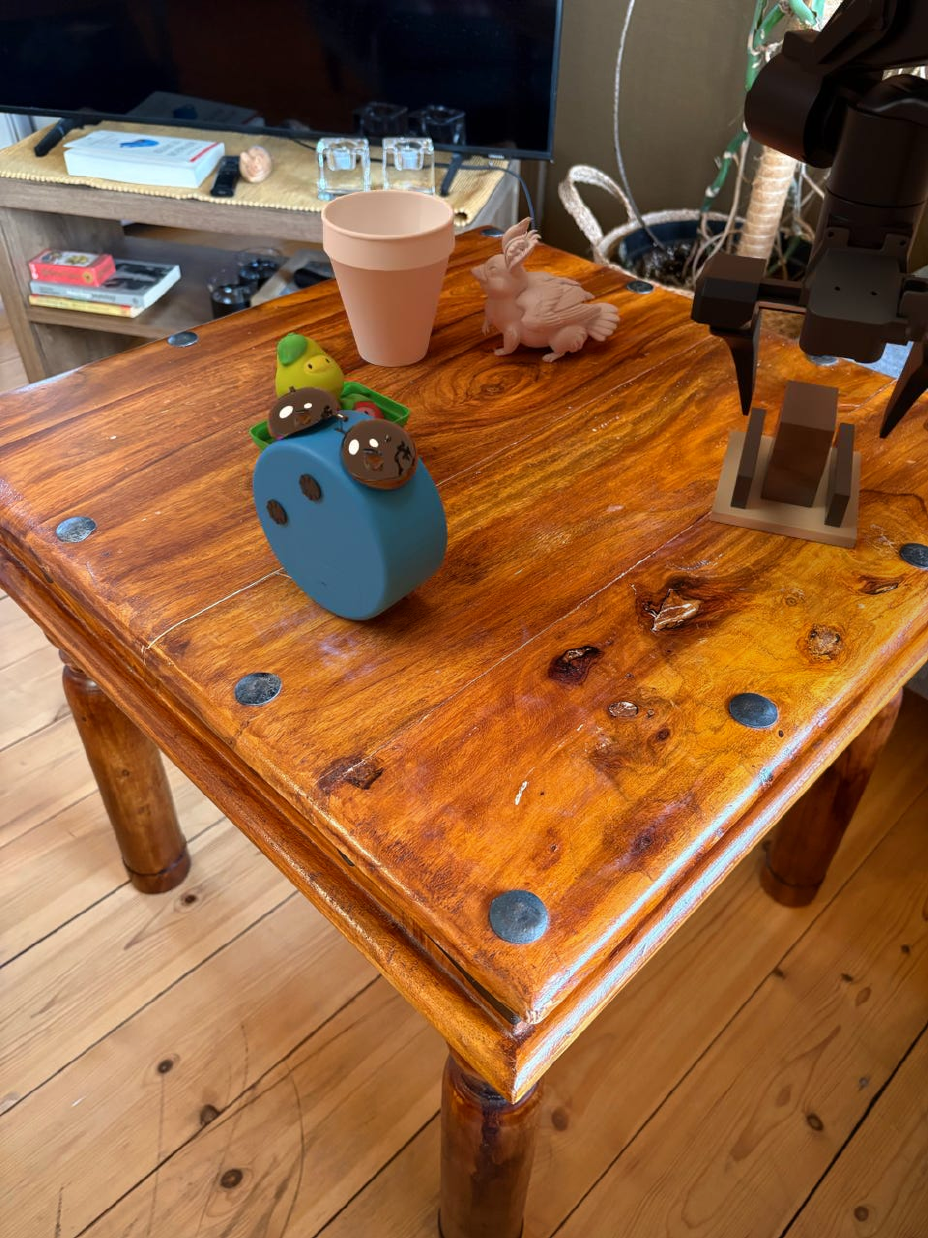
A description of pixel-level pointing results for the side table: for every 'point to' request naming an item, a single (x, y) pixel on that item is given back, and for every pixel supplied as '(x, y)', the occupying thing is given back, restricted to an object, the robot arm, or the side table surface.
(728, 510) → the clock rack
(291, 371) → the fruit basket
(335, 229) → the cup
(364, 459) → the alarm clock
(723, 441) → the side table surface
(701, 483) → the side table surface
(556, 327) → the figurine
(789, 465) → the dark brown block
